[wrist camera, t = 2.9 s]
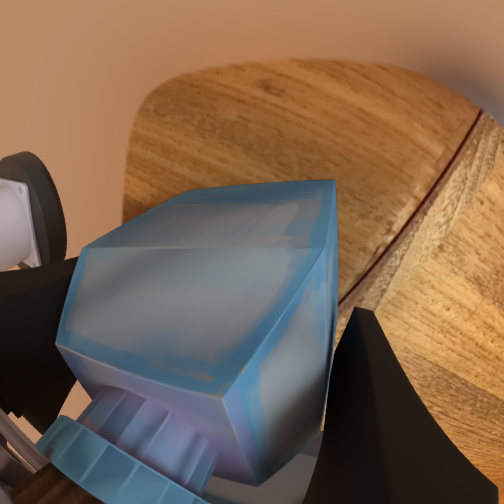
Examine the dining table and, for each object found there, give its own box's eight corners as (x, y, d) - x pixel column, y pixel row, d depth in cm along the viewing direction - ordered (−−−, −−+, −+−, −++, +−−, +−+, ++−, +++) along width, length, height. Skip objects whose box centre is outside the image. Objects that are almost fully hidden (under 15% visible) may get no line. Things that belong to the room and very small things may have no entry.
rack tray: (200, 488, 36) (196, 498, 34) (194, 392, 19) (181, 415, 17) (285, 513, 33) (282, 523, 31) (391, 442, 16) (390, 466, 14)
